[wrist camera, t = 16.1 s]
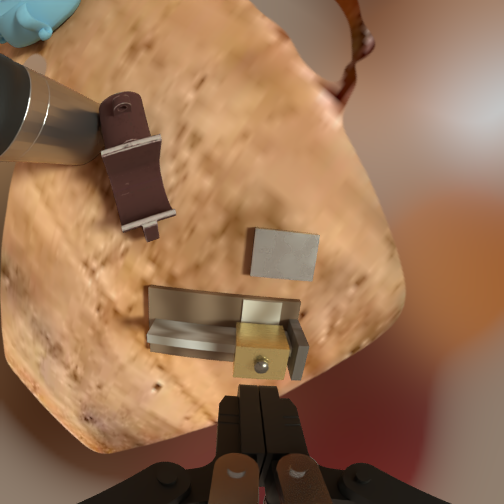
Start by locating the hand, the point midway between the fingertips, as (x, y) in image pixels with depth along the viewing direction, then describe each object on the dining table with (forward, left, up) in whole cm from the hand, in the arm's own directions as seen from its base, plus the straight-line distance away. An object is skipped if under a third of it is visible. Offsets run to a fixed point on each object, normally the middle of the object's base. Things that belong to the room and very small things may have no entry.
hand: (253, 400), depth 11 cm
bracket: (-13, +10, -27) cm, 32 cm away
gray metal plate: (+5, 0, -27) cm, 27 cm away
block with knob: (+3, -11, -25) cm, 27 cm away
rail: (-2, -11, -27) cm, 29 cm away
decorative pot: (-38, +38, -27) cm, 60 cm away
